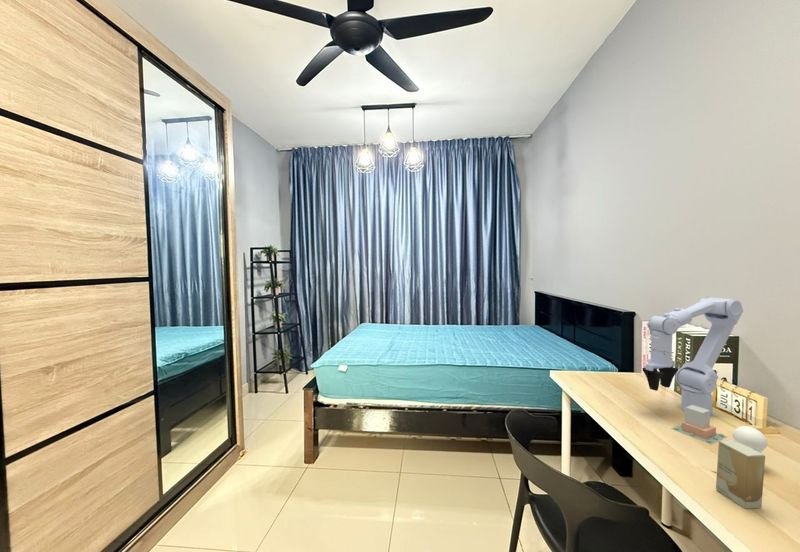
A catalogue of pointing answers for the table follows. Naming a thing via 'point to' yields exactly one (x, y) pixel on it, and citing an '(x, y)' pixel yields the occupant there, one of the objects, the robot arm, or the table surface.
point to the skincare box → (740, 473)
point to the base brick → (699, 430)
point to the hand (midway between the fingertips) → (659, 388)
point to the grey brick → (697, 416)
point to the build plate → (709, 440)
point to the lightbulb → (750, 438)
